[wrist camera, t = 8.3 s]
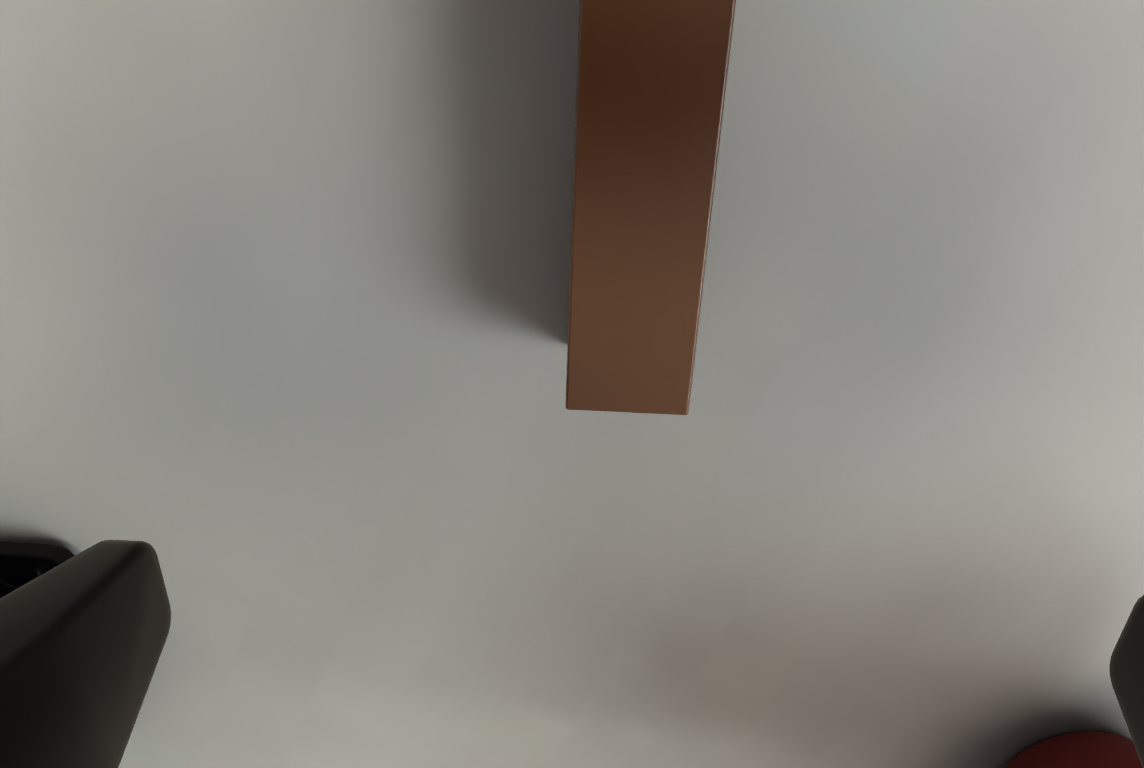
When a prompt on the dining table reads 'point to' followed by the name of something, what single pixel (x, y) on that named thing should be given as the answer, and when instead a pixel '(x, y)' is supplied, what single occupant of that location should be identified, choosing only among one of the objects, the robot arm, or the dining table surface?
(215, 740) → the dining table surface
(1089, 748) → the mug
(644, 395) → the spatula
